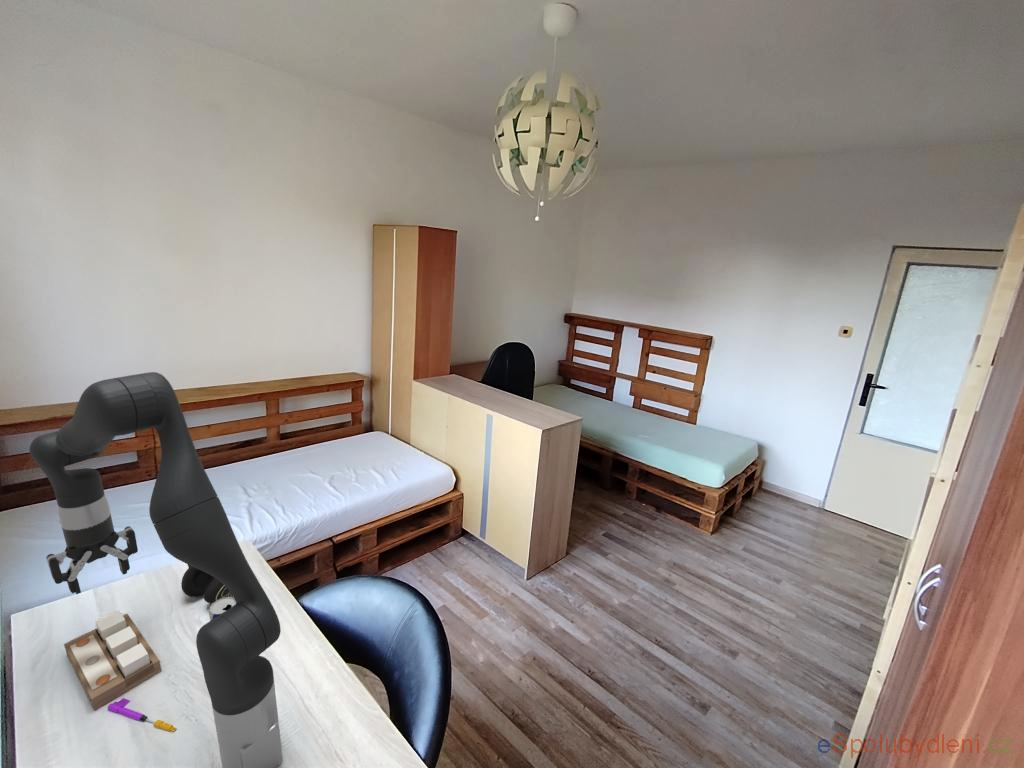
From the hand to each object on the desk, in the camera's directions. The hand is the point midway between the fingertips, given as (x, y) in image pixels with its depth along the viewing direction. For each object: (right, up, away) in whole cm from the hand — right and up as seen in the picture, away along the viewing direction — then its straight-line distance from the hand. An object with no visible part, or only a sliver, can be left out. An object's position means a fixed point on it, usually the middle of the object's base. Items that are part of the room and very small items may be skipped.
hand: (101, 581), depth 98 cm
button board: (+3, -17, -1) cm, 18 cm away
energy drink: (+25, -18, +5) cm, 31 cm away
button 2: (+10, -16, -4) cm, 20 cm away
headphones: (+12, -12, +19) cm, 25 cm away
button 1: (-1, -13, +4) cm, 14 cm away
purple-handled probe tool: (+18, -22, -10) cm, 31 cm away
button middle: (+5, -15, 0) cm, 15 cm away
